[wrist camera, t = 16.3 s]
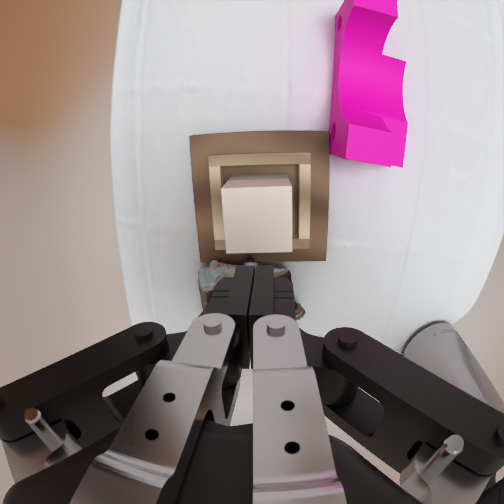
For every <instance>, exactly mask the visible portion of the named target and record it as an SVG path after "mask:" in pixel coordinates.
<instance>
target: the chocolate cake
mask: <svg viewBox="0 0 504 504" xmlns="http://www.w3.org/2000/svg"><path fill="white" fill-rule="evenodd" d="M244 265H248V266H255V269H256V265H257V263H256V262H255V259H254V258H252V257H247V258H246V261H245V262H244ZM236 266H237V265H231V264H226V263H220V262H218V261H217V260H213V261H211V262H210V266H209V267H202V268H201V269H200V270H199V274H198V275H199V277H198V283H199V290H200V295H201V301H202V306H203V312H202V313H201V314H200V315H199V316H198V317H200V316H202V315H205V312H206V309H207V307H208V304H209V301H210V299H211V297H212V293H213V292H214V288H215V285H216V283H217V282H218V281H219V280H221V279H222V278H223V277H234V273H235V270H236ZM274 277H287V278H288V279H289V280H290V281H291V273H290V271H289V270H286V269H285V268H274ZM291 282H292V281H291ZM294 303H295V314H296V320H300V318H302V317H303V316H304V314H306V313H305V310H304V309H303V307H301V305H300V304H299V303H298V302H296V301H294Z"/></svg>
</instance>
